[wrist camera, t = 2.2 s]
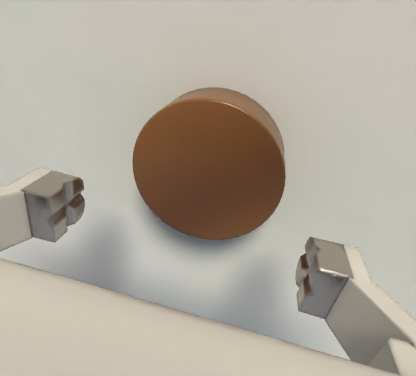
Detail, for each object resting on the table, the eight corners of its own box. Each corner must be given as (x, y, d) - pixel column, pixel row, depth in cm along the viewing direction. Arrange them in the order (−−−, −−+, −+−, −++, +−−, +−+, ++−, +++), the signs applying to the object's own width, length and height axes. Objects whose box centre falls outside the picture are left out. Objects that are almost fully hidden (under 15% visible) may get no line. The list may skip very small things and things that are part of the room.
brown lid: (126, 136, 15) (102, 153, 13) (234, 54, 12) (225, 60, 10) (201, 230, 17) (191, 258, 15) (309, 178, 14) (315, 204, 12)
